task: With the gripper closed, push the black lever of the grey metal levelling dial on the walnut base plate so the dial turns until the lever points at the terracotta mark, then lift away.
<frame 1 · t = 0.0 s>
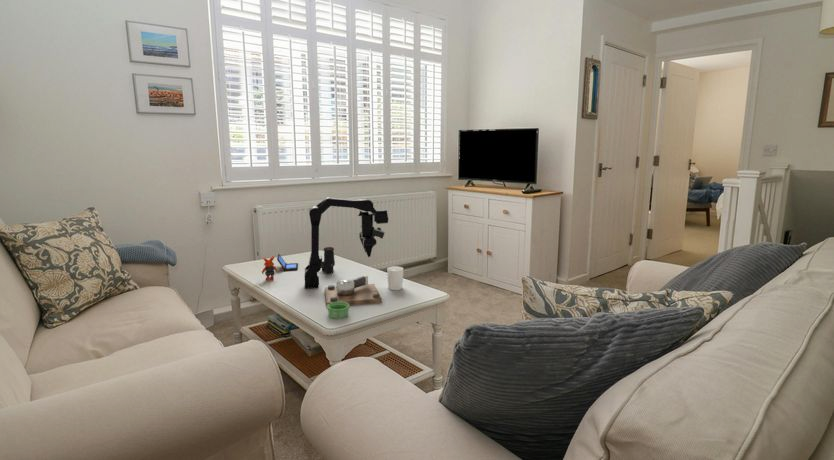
hand: (367, 254, 228), 15 cm above the table, tool pointing down, fingers open, 9 cm apart
white cup: (395, 288, 222), on the table
scope: (329, 272, 247), on the table
levelling dial: (353, 284, 211), point 5 cm above the table, hinge at 35.0°
handheld game console: (288, 268, 255), on the table
base plate: (352, 296, 210), on the table
toy animal: (269, 279, 235), on the table
ramekin: (338, 315, 188), on the table
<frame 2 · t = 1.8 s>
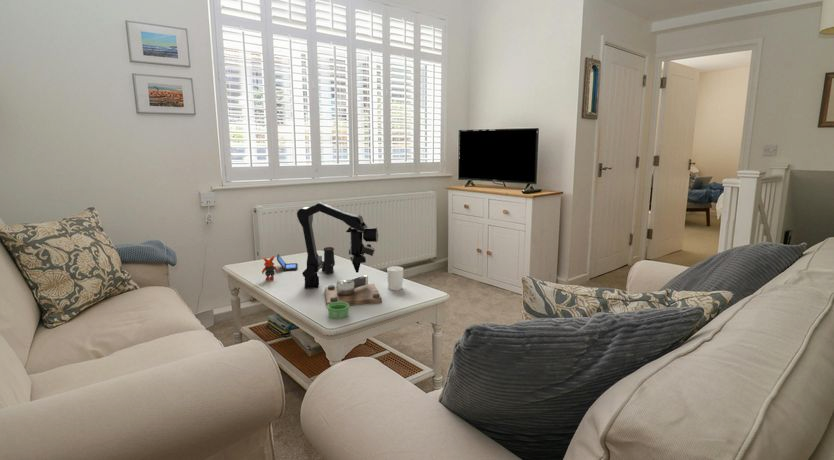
hand: (357, 272, 220), 8 cm above the table, tool pointing down, fingers closed
nothing on the table moved.
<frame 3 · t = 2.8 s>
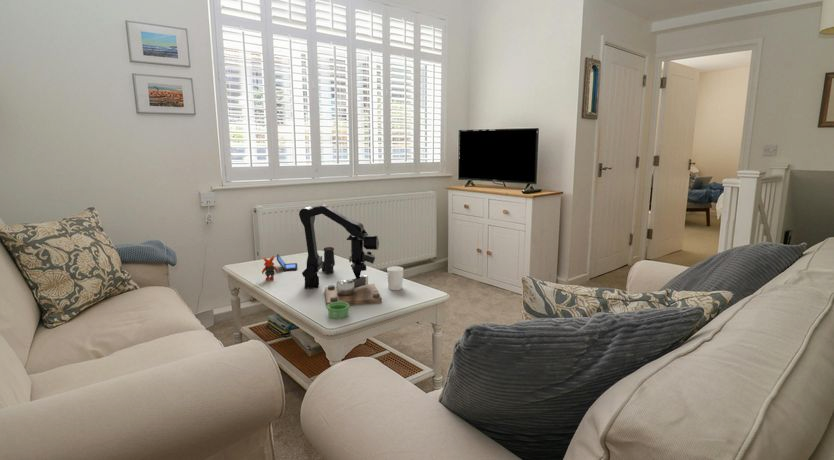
hand: (357, 279, 220), 5 cm above the table, tool pointing down, fingers closed
nothing on the table moved.
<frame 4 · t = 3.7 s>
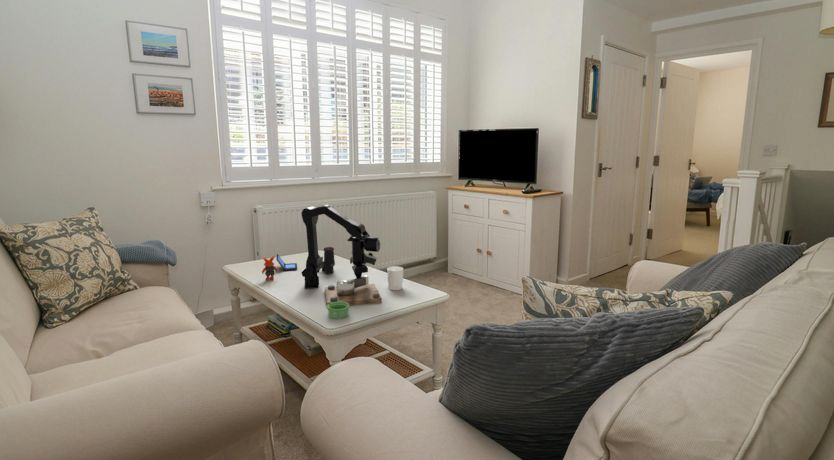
hand: (359, 281, 217), 5 cm above the table, tool pointing down, fingers closed
levelling dial: (353, 284, 211), point 5 cm above the table, hinge at 33.4°, touching gripper
everything else where it was.
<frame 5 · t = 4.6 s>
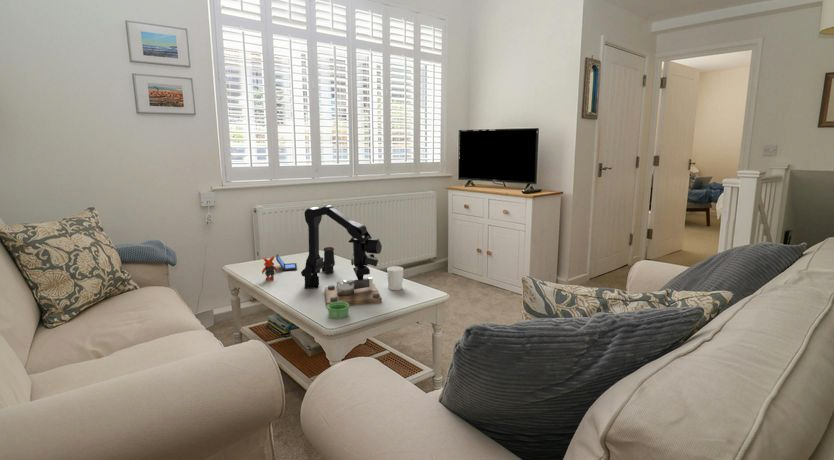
hand: (360, 283, 214), 5 cm above the table, tool pointing down, fingers closed
levelling dial: (354, 285, 210), point 5 cm above the table, hinge at 16.0°, touching gripper
everything else where it was.
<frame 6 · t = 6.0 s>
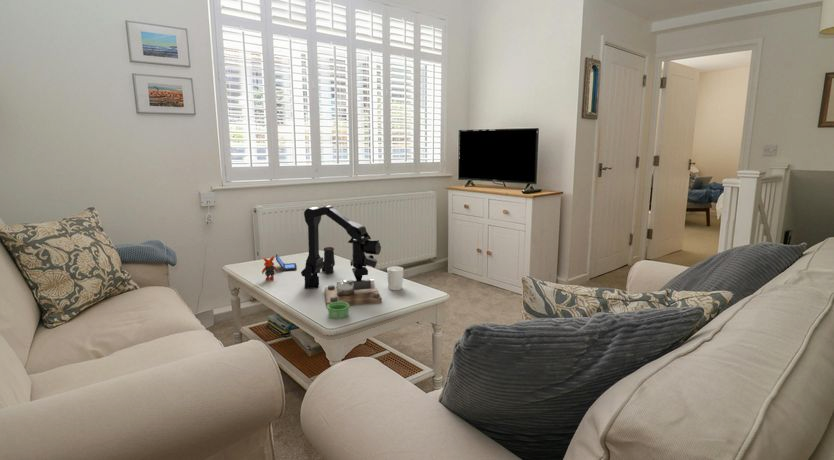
hand: (359, 284, 214), 4 cm above the table, tool pointing down, fingers closed
levelling dial: (355, 285, 209), point 5 cm above the table, hinge at 2.7°
everything else where it was.
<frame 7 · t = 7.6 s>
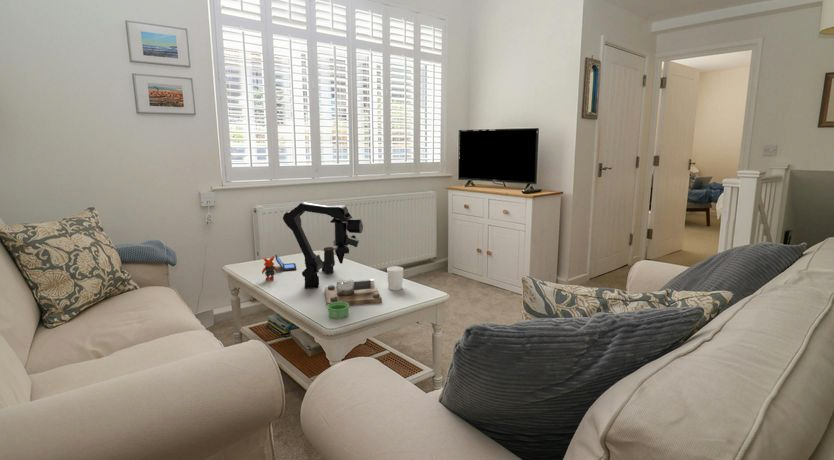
hand: (341, 263, 219), 13 cm above the table, tool pointing down, fingers closed
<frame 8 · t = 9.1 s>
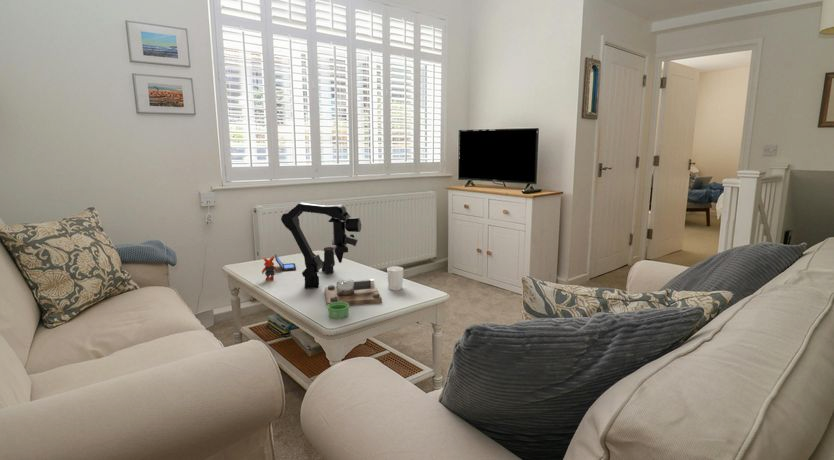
hand: (340, 262, 219), 13 cm above the table, tool pointing down, fingers closed
at the end: levelling dial at +3° (first picture: +35°) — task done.
